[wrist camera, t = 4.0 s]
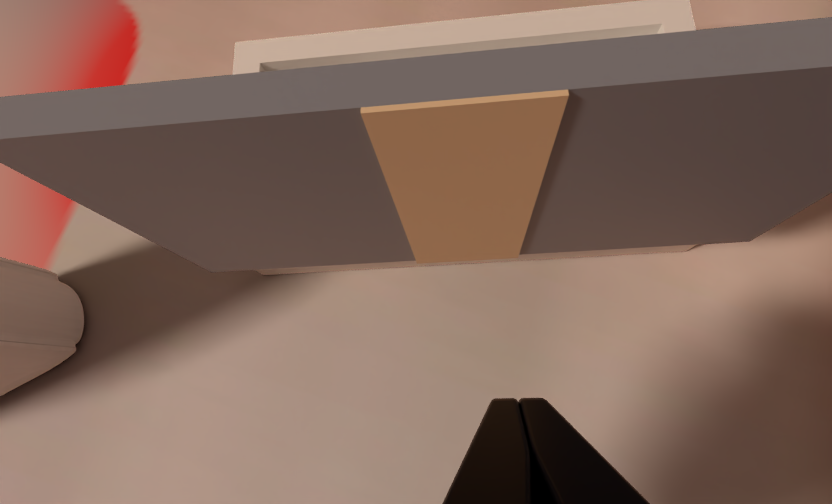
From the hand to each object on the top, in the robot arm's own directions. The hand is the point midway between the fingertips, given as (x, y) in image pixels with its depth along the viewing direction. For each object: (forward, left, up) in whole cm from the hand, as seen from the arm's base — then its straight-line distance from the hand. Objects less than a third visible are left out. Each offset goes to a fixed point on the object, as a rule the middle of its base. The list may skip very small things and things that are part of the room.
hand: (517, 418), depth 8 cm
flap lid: (+5, +1, -2) cm, 6 cm away
